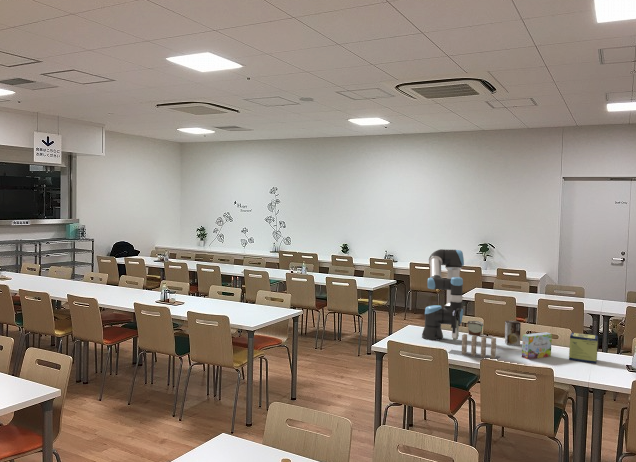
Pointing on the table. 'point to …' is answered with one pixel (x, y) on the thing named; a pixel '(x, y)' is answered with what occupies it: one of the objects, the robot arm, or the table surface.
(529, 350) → the snack box
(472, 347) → the tile
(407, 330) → the table surface
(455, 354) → the mat
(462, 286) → the robot arm
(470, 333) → the food container
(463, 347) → the tile
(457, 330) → the tile
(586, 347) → the protein box
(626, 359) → the table surface
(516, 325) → the coffee box
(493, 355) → the tile
